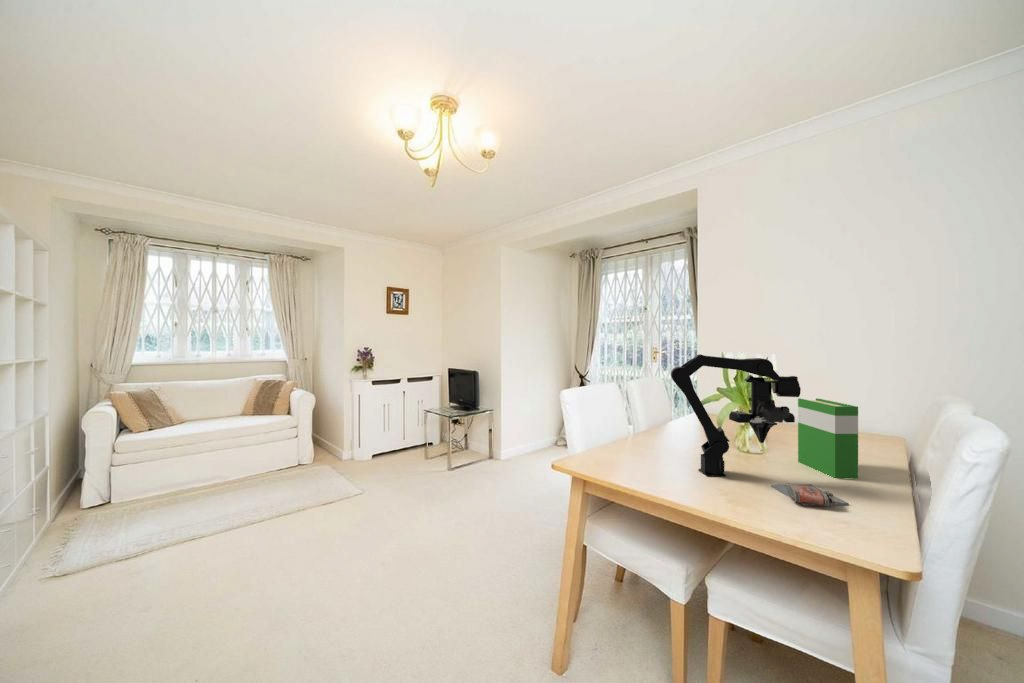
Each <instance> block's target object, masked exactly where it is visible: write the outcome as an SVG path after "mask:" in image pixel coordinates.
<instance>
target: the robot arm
mask: <svg viewBox="0 0 1024 683" xmlns="http://www.w3.org/2000/svg"><path fill="white" fill-rule="evenodd" d="M702 367H711V368H719V369H726V370H727V369H728V370H736V371H741V372H745V373H748V374H749V375H748V376H747V377H746V378H744V380H743V381H744V382H745V383H750V384H751V385H750V389H751V390H750V392H751V393H750V397H749V398H748V401H749V402H750V406H751V408H750V409H749V410H748V412H744V411H742V410H741V411H739V410H738V411H737V410H736V411H735V410H734V411H730V413H729V414H728V420H730V421H733V422H735V423H739V424H749V425H750V427H751V428H752V430H753V432H754V434H755V436H756V438H757V441H758V442H759V443H761V444H764V443H765V441H766V438H767V435H768V433H769V432H770V430H771V428H772V427H774V426H777V425H778V423H779V424H780V423H783V422H785V423H796V422H795V420H796V417H795V414H793V413H792V412H790V411H791V410H790V408H789V407H788V406H776V403H775V399H772V398H773V397H772V395H773V394H775V395H776V396H777V397H780V398H781V397H782V398H800V395H801V390H802V389H801V386H800V382H799V379H798V378H799V377H798V376H795V375H789V376H781V375H779V374H778V373H777V372H776V371H775V370H774V365H773V362H771V361H770V360H768V359H765V358H761V357H752V358H751V357H750V358H730V357H721V356H712V355H704V354H696V355H695V356H694V357H693V358H691V359H690V360H688V361H687V362H685V363H683V364H682V365H681V366H680V365H679V366H675V367H673V368H672V370H670V377H671V380H672V381H673V382H674V383H675V385H676V386H677V387H678V388H679V389H680V391H681V392H682V393H683V394H684V396H685V398H686V399H687V401H688V403H689V405H690V407H691V408H692V411H693V412H694V414H695V416H696V417H697V419H698V421H699V422H700V424H701V426H702V428H703V432H704V435H705V437H706V440H707V441H705V442H704V443H703V444H702V445H700V447H701V451H702V452H703V453H702V454H701V453H700V468H698V471H699V472H701V473H702V474H703V475H705V476H707V477H726V476H727V474H725V460H724V454H726V453H727V452H728V451H729V449H730V444H729V442H730V439H729V438H728V437H727V436H726V433H725V431H724V429H723V428H722V427H721V426H718V428H717V426H715V424H714V423H713V420H712V419H711V417H710V416H709V414H708V411H707V410H706V409H705V407H704V404H703V403H702V401H701V399H700V398H699V395H698V394H697V392H696V391H695V388H694V385H693V382H692V379H691V376H692V375H693V374H695V373H696V372H698V370H699V369H701V368H702ZM753 375H756V376H758V377H756V376H753ZM764 377H766V378H767V379H770V380H767V379H765V378H764ZM772 393H773V394H772Z"/></svg>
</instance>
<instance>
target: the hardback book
mask: <svg viewBox="0 0 1024 683" xmlns="http://www.w3.org/2000/svg"><path fill="white" fill-rule="evenodd" d="M797 419H798V420H797V447H798V448H797V462H798V463H800V464H802V465H804V466H806V467H808V466H809V467H808V468H810V467H811V469H812V468H813V470H814V471H817V470H818V471H817V472H819V471H820V473H821V472H822V473H821V474H823V473H824V474H823V475H826V474H827V475H826V476H828V475H829V476H828V477H830V476H831V478H832V477H833V479H834V478H858V479H859V406H856V405H852V404H847V403H841V402H837V401H833V400H827V399H823V398H818V397H817V398H815V400H809V399H805V398H801V397H797Z"/></svg>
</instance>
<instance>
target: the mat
mask: <svg viewBox="0 0 1024 683" xmlns="http://www.w3.org/2000/svg"><path fill="white" fill-rule="evenodd" d="M787 484H788V483H787ZM787 484H779V483H778V484H770V487H771V488H773V489H774V488H775V489H774V490H777V491H778V492H780V493H782V494H783V495H785V496H786V497H788V498H790V499H791V497H790V496H789V494H788V492H787ZM791 484H792V485H797V486H807V487H816V486H815V485H812V484H810V483H809V484H806V483H804V484H803V483H798V484H793V483H791ZM833 497H834V498H835V499H836V500H837V501H838V504H832V503H831V502H830V501H829V504H828V506H849V505H850V504H849V502H847V501H845V500H843V499H841V498H839V497H837V496H835V495H833ZM798 504H801V505H802V506H823V505H822V504H813V503H805V502H799V503H798Z"/></svg>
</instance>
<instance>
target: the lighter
mask: <svg viewBox="0 0 1024 683" xmlns="http://www.w3.org/2000/svg"><path fill="white" fill-rule="evenodd" d="M792 484H793V483H787V492H788V494H789V496H790V497H791V498H790V497H789V498H790V499H791V500H792V501H793V502H794V503H798V504H800V503H799V502H805V503H813V504H822V505H821V506H824V507H825V506H826V507H827V506H828V507H829V505H828V504H829V501H830V502H831V503H832V504H838V501H837V500H836V499H835V498H834V497H833V496H834V493H831V492H830V491H829V490H823V489H822V488H821V487H819V486H815V487H807V486H797V485H792Z"/></svg>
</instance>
